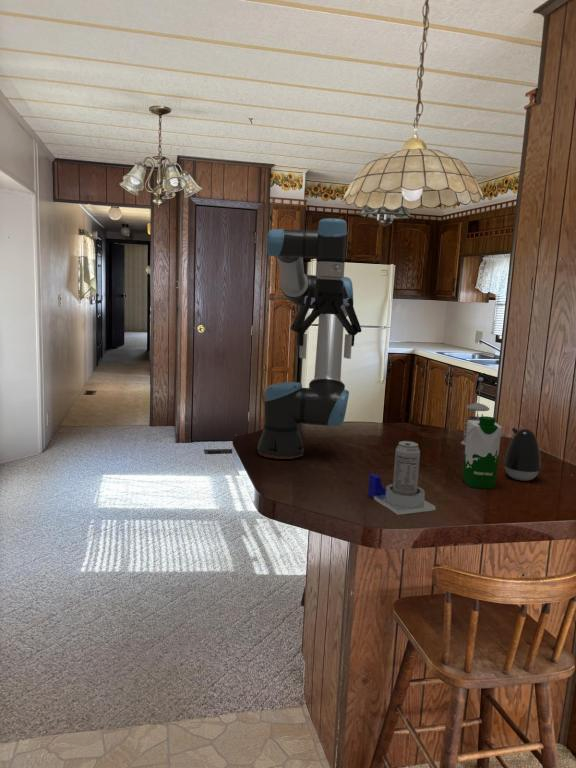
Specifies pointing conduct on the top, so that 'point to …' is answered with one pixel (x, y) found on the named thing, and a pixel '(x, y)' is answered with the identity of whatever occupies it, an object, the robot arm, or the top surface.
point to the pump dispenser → (523, 456)
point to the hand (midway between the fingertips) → (325, 358)
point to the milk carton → (481, 452)
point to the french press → (477, 408)
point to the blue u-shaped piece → (375, 486)
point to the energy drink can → (406, 468)
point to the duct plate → (404, 510)
